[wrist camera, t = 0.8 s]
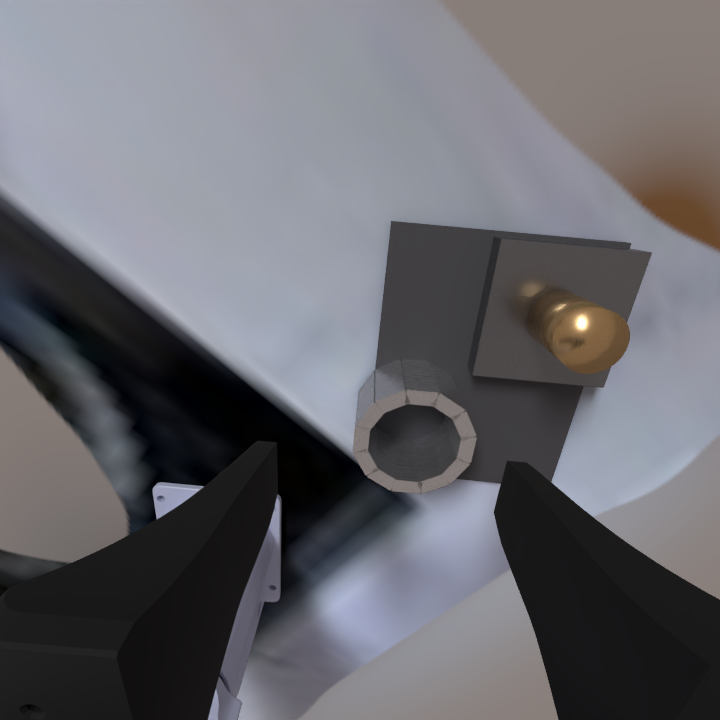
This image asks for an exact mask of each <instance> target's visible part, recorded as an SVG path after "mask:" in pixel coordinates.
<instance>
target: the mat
mask: <svg viewBox="0 0 720 720" xmlns="http://www.w3.org/2000/svg"><path fill="white" fill-rule="evenodd" d="M494 237H503V238H514V239H525V240H536V241H547V242H558V243H569V244H580V245H591V246H602V247H613V248H624V249H630V246H631V243H626V242H615V241H604V240H593V239H582V238H571V237H560V236H549V235H538V234H527V233H516V232H505V231H494V230H483V229H472V228H461V227H450V226H439V225H428V224H417V223H406V222H395V221H391V230H390V239H389V248H388V257H387V267H386V276H385V285H384V295H383V304H382V313H381V322H380V332H379V341H378V350H377V359H376V369H377V368H380V367H382V366H385V365H387V364H390V363H392V362H394V361H397V360H399V359H400V360H401V361H402V359H408V360H418V361H428V362H429V363H430V362H431V363H432V364H434V365H435V366H437V367H438V368H440V369H441V370H443V371H444V372H445V373H447V374H448V375H450V376H451V378H452V379H453V381H454V383H455V386H456V388H457V390H458V393H459V395H460V397H461V400H462V402H463V405H464V407H465V409H466V412H467V414H468V416H469V419H470V421H471V423H472V426H473V428H474V431H475V433H476V435H477V436H476V437H477V439H476V444H475V448H474V452H473V456H472V461H471V463H470V465H469V466H468V467H467V468H466V469H465V470H464V471H463V472H462V473H461V474H460V475H459V476H458V477H457V478H456V479H464V480H475V481H485V482H496V483H501V482H502V478H503V474H504V470H505V466H506V462H507V461H516V462H527V463H528V464H529V465H531V466H532V467H533V468H535V469H536V470H537V471H538V472H539V473H541V474H542V475H543V476H544V477H545V478H547V479H548V480H549V481H550V482H551V481H552V478H553V475H554V472H555V469H556V466H557V463H558V460H559V457H560V454H561V451H562V448H563V445H564V442H565V440H566V437H567V434H568V431H569V428H570V425H571V422H572V419H573V416H574V413H575V410H576V407H577V404H578V401H579V398H580V395H581V392H582V389H583V386H581V385H570V384H560V383H549V382H538V381H527V380H517V379H506V378H495V377H484V376H474V375H472V374H471V372H470V370H469V368H468V366H467V365H468V360H469V355H470V350H471V345H472V341H473V336H474V331H475V326H476V321H477V316H478V311H479V306H480V302H481V297H482V292H483V287H484V282H485V277H486V272H487V267H488V263H489V258H490V253H491V248H492V243H493V238H494ZM376 369H375V371H376ZM444 419H445V414H444V413H442V412H441V411H439V410H438V409H436V408H435V407H433V406H424V405H413V404H406V405H404V406H401V407H399V408H396V409H393V410H391V411H388V412H386V413H384V414H383V415H382V417H381V418H380V419H379V420H378V421H377V423H376V426H377V428H378V429H380V430H381V431H383V432H384V433H386V434H388V435H389V436H391V437H392V438H396V439H406V440H415V439H418V438H420V437H423V436H426V435H429V434H431V433H432V432H433V431H434V430H435V429H436V428H437V427H438V426H439V425H440V424H441V423H442V422H443V420H444Z"/></svg>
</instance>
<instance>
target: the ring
mask: <svg viewBox="0 0 720 720" xmlns="http://www.w3.org/2000/svg"><path fill="white" fill-rule="evenodd" d="M406 404H413V405H424V406H433V407H435V408H436V409H438V410H439V411H441V412H442V413H444V414H445V419H444V420H443V422H442V423H441V424H440V425H439V426H438V427H437V428H436V429H435V430H434V431H433V432H432V433H431V434H429V435H426V436H423V437H420V438H418V439H415V440H406V439H396V438H392V437H391V436H389V435H388V434H386V433H384V432H383V431H381V430H380V429H378V428H377V426H376V423H377V421H378V420H379V419H380V418H381V417H382V415H383V414H384V413H386V412H388V411H391V410H393V409H396V408H399V407H401V406H404V405H406ZM476 436H477V435H476V433H475V431H474V428H473V426H472V423H471V421H470V419H469V416H468V414H467V412H466V409H465V407H464V405H463V402H462V400H461V397H460V395H459V393H458V390H457V388H456V386H455V383H454V381H453V379H452V378H451V376H450V375H448V374H447V373H445V372H444V371H443V370H441V369H440V368H438V367H437V366H435V365H434V364H432V363H431V362H430V363H429V362H428V361H418V360H408V359H402V361H401V360H400V359H399V360H397V361H394V362H392V363H390V364H387V365H385V366H382V367H380V368H377V369H376V371H373V372H372V374H371V375H370V376H369V378H368V379H367V380H366V381H365V383H364V384H363V385H362V387H361V388H360V389H359V392H358V402H357V413H356V423H355V434H354V445H353V454H354V456H355V457H356V459H357V461H358V463H359V465H360V466H361V468H362V470H363V472H364V473H365V475H367V477H368V478H370V479H372V480H373V481H375V482H377V483H378V484H380V485H382V486H383V487H385V488H387V489H388V490H391V489H392V491H396V492H406V493H417V494H420V493H421V492H422V494H423V493H426V492H429V491H432V490H435V489H438V488H440V487H443V486H446V485H449V483H452V482H453V481H454V480H455V479H456V478H457V477H458V476H459V475H460V474H461V473H462V472H463V471H464V470H465V469H466V468H467V467H468V466H469V465H470V463H471V461H472V456H473V452H474V448H475V444H476V439H477V437H476Z"/></svg>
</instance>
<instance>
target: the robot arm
mask: <svg viewBox="0 0 720 720" xmlns="http://www.w3.org/2000/svg"><path fill="white" fill-rule="evenodd" d="M162 496H163V497H162ZM153 497H154V504H155V511H156V517H157V520H155V521H153V522H152V523H150V524H148V525H146V526H145V527H143V528H141V529H139V530H137V531H136V532H134V533H132V534H130V535H128V536H127V537H125V538H123V539H121V540H119V541H117V542H115V543H113V544H111V545H109V546H107V547H105V548H103V549H101V550H99V551H97V552H95V553H93V554H90V555H88V556H86V557H84V558H82V559H80V560H77V561H75V562H73V563H70V564H68V565H66V566H63V567H61V568H59V569H56V570H53V571H51V572H48V573H46V574H43V575H41V576H38V577H36V578H33V579H31V580H28V581H26V582H23V583H21V584H18V585H15V586H12V587H10V588H9V589H8V590H7V591H6V592H5V593H4V594H2V596H1V597H0V720H238V717H239V713H240V709H241V705H242V702H241V701H240V700H238V699H237V698H236V697H237V694H238V692H239V689H240V686H241V683H242V679H243V676H244V672H245V669H246V665H247V662H248V658H249V654H250V651H251V647H252V644H253V640H254V637H255V633H256V630H257V626H258V623H259V619H260V615H261V612H262V608H263V605H264V601H265V602H276V601H278V600H279V598H280V594H281V497H280V496H279V495H278V488H277V442H264V441H257V442H256V443H254V444H253V445H252V446H251V447H250V448H249V449H248V450H246V451H245V452H244V453H243V454H242V455H241V456H240V457H239V458H238V459H236V460H235V461H234V462H233V463H232V464H231V465H230V466H229V467H227V468H226V469H225V470H224V471H223V472H221V473H220V474H219V475H218V476H217V477H216V478H214V479H213V480H212V481H211V482H209V483H208V484H207V485H206V486H195V485H185V484H174V483H164V482H160V483H157V484H156V485H155V487H154V488H153ZM274 507H275V508H274ZM494 515H495V519H496V524H497V528H498V532H499V536H500V540H501V544H502V546H503V549H504V552H505V555H506V557H507V560H508V563H509V565H510V568H511V570H512V573H513V576H514V578H515V581H516V583H517V586H518V589H519V591H520V594H521V596H522V599H523V601H524V604H525V606H526V609H527V612H528V614H529V617H530V620H531V623H532V626H533V628H534V631H535V634H536V638H537V641H538V645H539V648H540V652H541V655H542V659H543V662H544V666H545V669H546V673H547V677H548V680H549V684H550V688H551V692H552V696H553V700H554V704H555V707H556V711H557V715H558V719H559V720H720V600H719V599H717V598H716V597H714V596H712V595H710V594H708V593H706V592H705V591H703V590H701V589H699V588H698V587H696V586H694V585H693V584H691V583H689V582H687V581H686V580H684V579H682V578H681V577H679V576H677V575H676V574H674V573H672V572H671V571H669V570H668V569H666V568H664V567H663V566H661V565H660V564H658V563H656V562H655V561H653V560H652V559H650V558H649V557H647V556H646V555H644V554H643V553H641V552H640V551H638V550H637V549H635V548H634V547H632V546H631V545H629V544H628V543H627V542H625V541H624V540H622V539H621V538H619V537H618V536H617V535H615V534H614V533H613V532H612V531H610V530H609V529H608V528H606V527H605V526H603V525H602V524H601V523H600V522H598V521H597V520H596V519H595V518H593V517H592V516H591V515H590V514H588V513H587V512H586V511H585V510H583V509H582V508H581V507H580V506H578V505H577V504H576V503H575V502H574V501H572V500H571V499H570V498H569V497H568V496H566V495H565V494H564V493H563V492H562V491H561V490H559V489H558V488H557V487H556V486H555V485H554V484H552V483H551V482H550V481H549V480H548V479H547V478H545V477H544V476H543V475H542V474H541V473H539V472H538V471H537V470H536V469H535V468H533V467H532V466H531V465H529V464H528V463H527V462H516V461H507V462H506V466H505V470H504V474H503V478H502V482H501V486H500V490H499V494H498V498H497V502H496V506H495V510H494Z"/></svg>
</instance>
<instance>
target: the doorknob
mask: <svg viewBox="0 0 720 720" xmlns="http://www.w3.org/2000/svg"><path fill="white" fill-rule="evenodd" d="M651 254H652V253H651V252H646V251H640V250H635V249H624V248H613V247H602V246H591V245H580V244H569V243H558V242H547V241H536V240H525V239H514V238H503V237H494V238H493V243H492V248H491V253H490V258H489V263H488V267H487V272H486V277H485V282H484V287H483V292H482V297H481V302H480V306H479V311H478V316H477V321H476V326H475V331H474V336H473V341H472V345H471V350H470V355H469V360H468V365H467V366H468V368H469V370H470V372H471V374H472V375H474V376H484V377H495V378H506V379H517V380H527V381H538V382H549V383H560V384H570V385H581V386H592V387H603V388H604V385H605V382H606V380H607V377H608V374H609V371H610V368H611V366H612V365H614V364H615V363H616V362H617V361H618V360H619V359H620V358H621V357H622V356H623V354H624V353H625V351H626V349H627V347H628V344H629V339H630V331H629V327H628V325H627V321H628V318H629V315H630V313H631V310H632V307H633V304H634V301H635V299H636V296H637V293H638V290H639V287H640V285H641V282H642V279H643V276H644V274H645V271H646V268H647V265H648V262H649V260H650V257H651Z"/></svg>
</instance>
